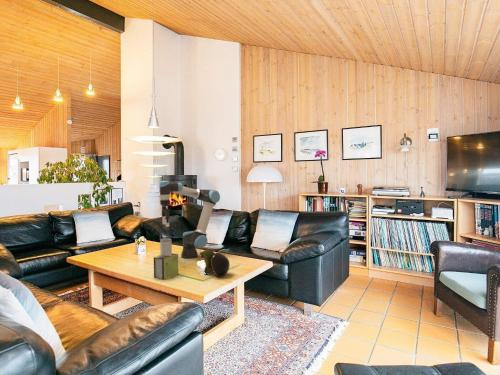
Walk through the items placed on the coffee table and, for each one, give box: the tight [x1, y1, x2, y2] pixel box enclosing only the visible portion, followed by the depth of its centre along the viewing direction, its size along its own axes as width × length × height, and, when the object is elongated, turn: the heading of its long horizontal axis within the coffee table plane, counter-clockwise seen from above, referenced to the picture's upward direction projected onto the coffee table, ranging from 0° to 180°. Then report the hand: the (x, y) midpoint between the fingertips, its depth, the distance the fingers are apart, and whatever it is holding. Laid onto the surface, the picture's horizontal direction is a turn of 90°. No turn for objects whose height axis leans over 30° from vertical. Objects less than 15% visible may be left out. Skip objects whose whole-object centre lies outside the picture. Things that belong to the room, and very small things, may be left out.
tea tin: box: [159, 237, 173, 257], centre depth 230 cm, size 7×7×12 cm
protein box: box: [153, 252, 179, 281], centre depth 231 cm, size 10×15×16 cm
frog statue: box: [199, 249, 231, 278], centre depth 234 cm, size 19×16×25 cm
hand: (165, 225), depth 254 cm, fingers open, 13 cm apart
